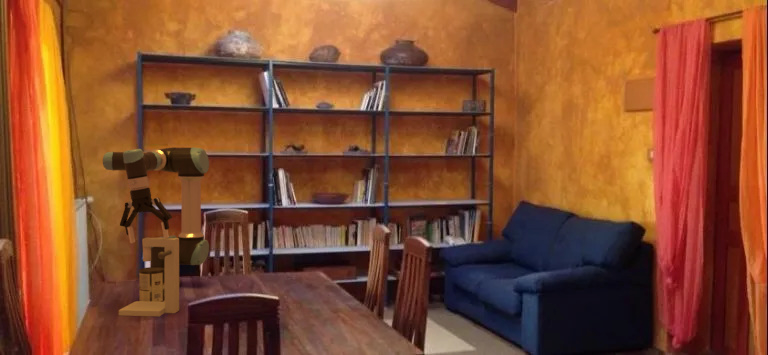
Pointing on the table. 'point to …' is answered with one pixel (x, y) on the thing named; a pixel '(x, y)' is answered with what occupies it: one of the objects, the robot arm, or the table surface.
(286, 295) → the table surface
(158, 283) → the coffee can
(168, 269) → the press
